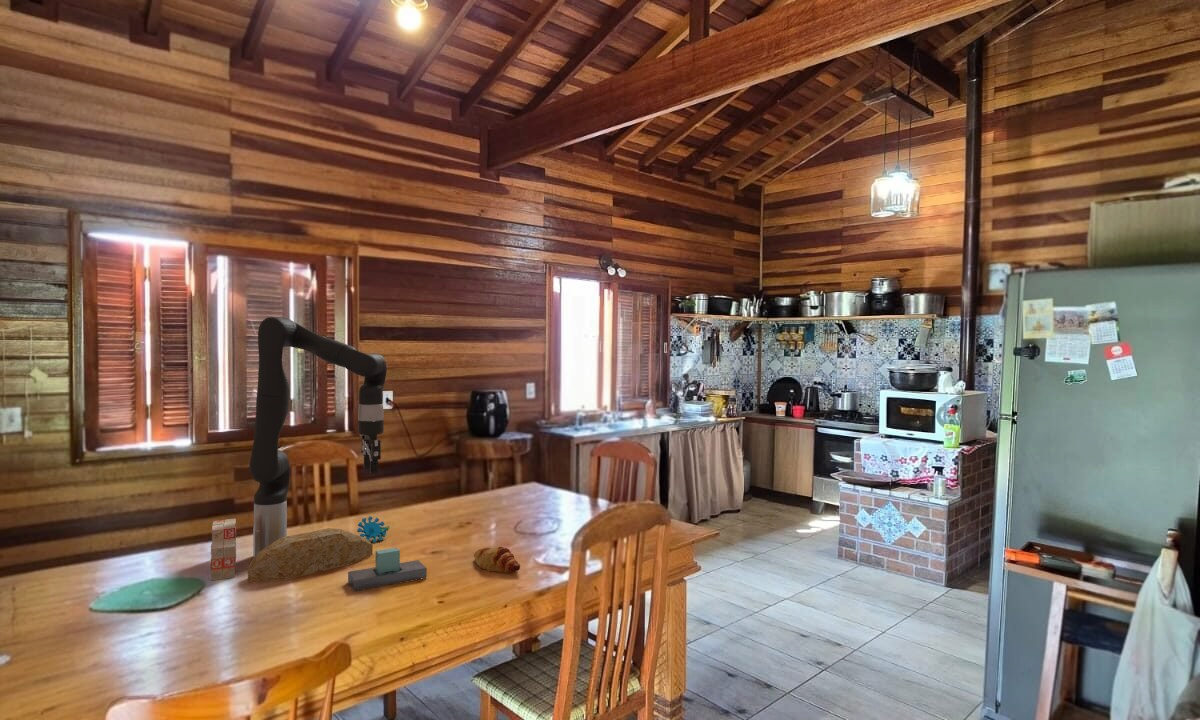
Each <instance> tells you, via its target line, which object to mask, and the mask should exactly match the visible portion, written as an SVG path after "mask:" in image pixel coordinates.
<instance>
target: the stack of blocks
mask: <svg viewBox="0 0 1200 720" xmlns="http://www.w3.org/2000/svg"><path fill="white" fill-rule="evenodd" d="M211 527H212V528H211V543H210V581H218V579H219V580H226V578H227V579H232V578H233V577H234V578H235V577H236V560H237V519H236V518H230V519H229V518H228V519H220V520H213V521H212V526H211ZM234 578H233V579H234Z"/></svg>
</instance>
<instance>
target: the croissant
mask: <svg viewBox="0 0 1200 720" xmlns="http://www.w3.org/2000/svg"><path fill="white" fill-rule="evenodd" d="M473 557H474V561H475V563H476V564H477V566H478V567H479V568H480V569H483V570H486V569H487V570H490V571H489V572H492V571H493V572H494V571H497V572H498V573H503V572H504V574H510V573H511V574H512V573H515V572H518V571H519V570H520V569H521V564H520V563H519V562H518V561H517V560H516V559H515V555H514V553H512V552H511V550H510V549H509V548H508V547H506V546H503V545H500V546H493V547H483V548H479V549H478V550H476V551H475V552H474V554H473ZM487 570H486V571H487ZM497 572H496V573H497Z"/></svg>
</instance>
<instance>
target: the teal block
mask: <svg viewBox="0 0 1200 720" xmlns="http://www.w3.org/2000/svg"><path fill="white" fill-rule="evenodd" d="M400 563H401V550H400V549H399V548H398V547H392V548H385V549H379V550H378V549H377V550H375V567H376V574H377V575H378V574H384V573H385V572H389V571H391V572H395V571H399V570H400Z"/></svg>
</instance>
